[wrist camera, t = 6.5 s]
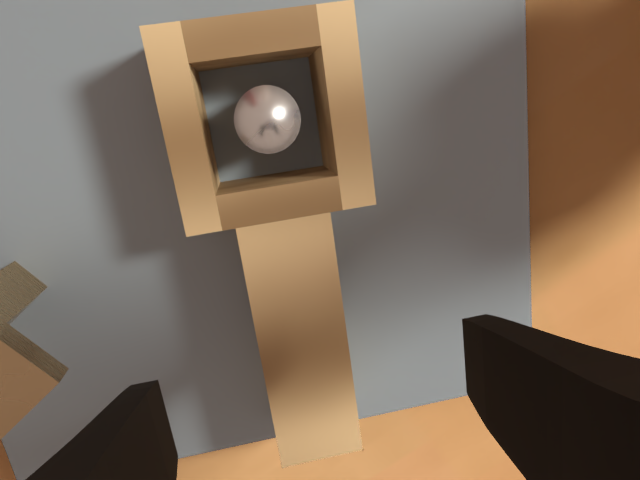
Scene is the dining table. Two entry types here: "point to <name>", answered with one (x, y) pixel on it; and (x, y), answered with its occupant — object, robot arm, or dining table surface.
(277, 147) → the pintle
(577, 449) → the robot arm
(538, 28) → the dining table surface
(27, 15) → the board
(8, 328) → the post
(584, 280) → the dining table surface
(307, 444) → the link
